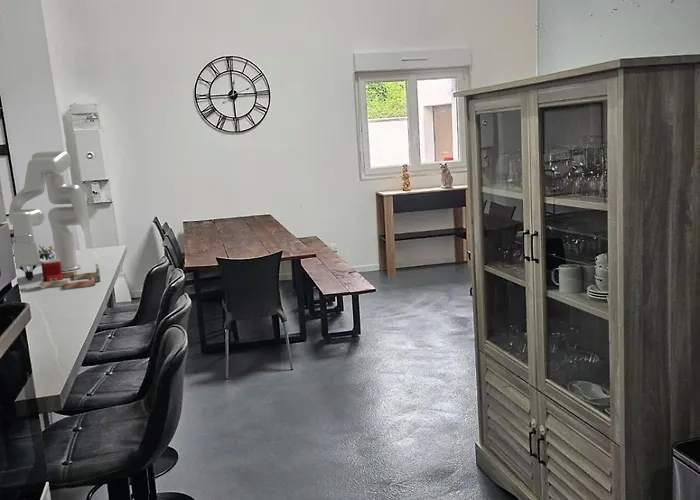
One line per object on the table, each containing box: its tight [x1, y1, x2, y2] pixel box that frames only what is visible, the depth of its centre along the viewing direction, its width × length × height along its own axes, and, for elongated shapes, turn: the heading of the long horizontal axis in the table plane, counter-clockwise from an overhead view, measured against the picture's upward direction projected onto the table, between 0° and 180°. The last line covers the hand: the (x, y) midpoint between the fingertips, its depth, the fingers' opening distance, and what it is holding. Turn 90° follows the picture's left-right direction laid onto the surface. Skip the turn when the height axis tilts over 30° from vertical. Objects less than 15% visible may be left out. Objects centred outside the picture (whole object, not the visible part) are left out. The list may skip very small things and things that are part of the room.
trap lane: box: [39, 263, 101, 290], centre depth 293 cm, size 25×29×6 cm
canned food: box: [40, 258, 64, 282], centre depth 290 cm, size 8×8×11 cm
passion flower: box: [38, 245, 56, 260], centre depth 350 cm, size 11×11×12 cm
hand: (29, 280), depth 287 cm, fingers closed
